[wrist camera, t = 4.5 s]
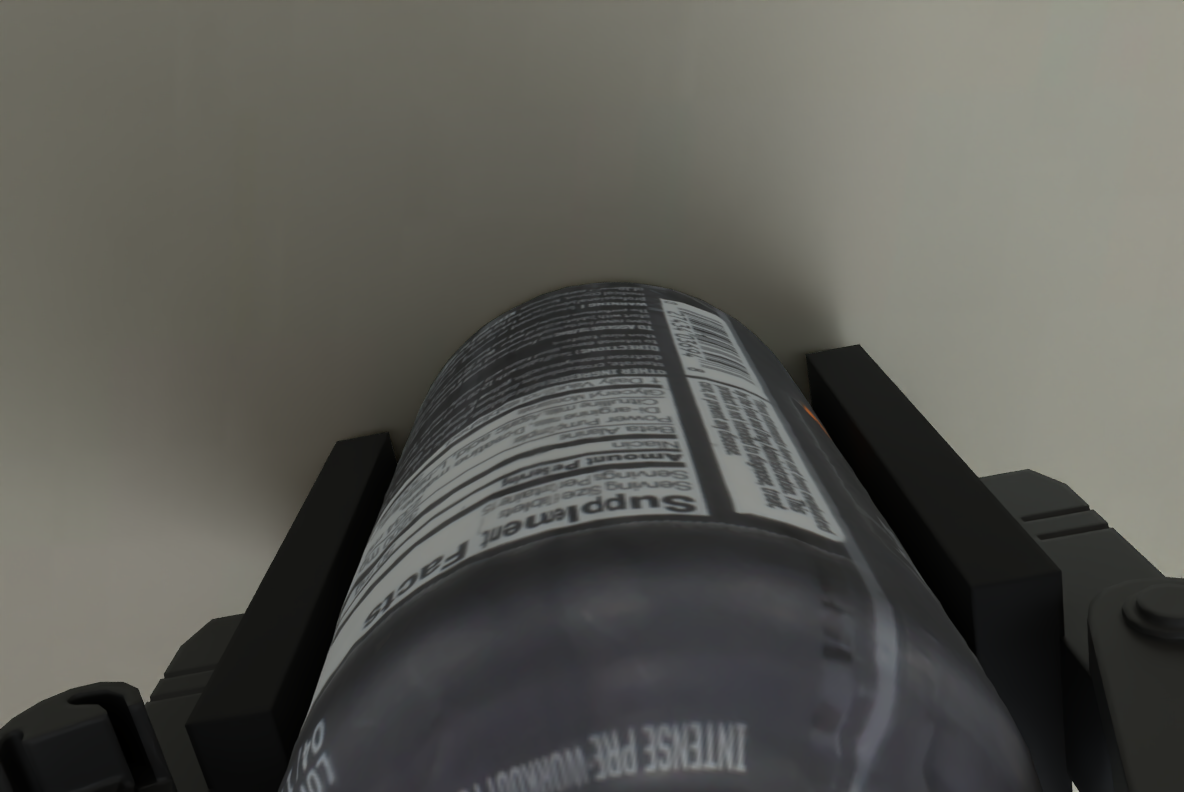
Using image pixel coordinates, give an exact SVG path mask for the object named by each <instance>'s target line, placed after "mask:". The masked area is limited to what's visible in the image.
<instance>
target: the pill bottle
mask: <svg viewBox="0 0 1184 792" xmlns="http://www.w3.org/2000/svg"><path fill="white" fill-rule="evenodd" d="M278 792H1043V789H1042V786H1041V783H1040V780H1039V777H1038V774H1037V771H1036V769H1035V766H1034V763H1033V760H1032V757H1031V754H1030V751H1029V749H1028V747H1027V745H1026V743H1025V741H1024V739H1023V737H1022V735H1021V734H1020V732H1019V730H1018V728H1017V726H1016V724H1015V722H1014V720H1013V718H1012V716H1011V714H1010V713H1009V711H1008V709H1007V707H1006V706H1005V704H1004V703H1003V701H1002V700H1001V698H1000V697H999V695H998V693H997V691H996V689H995V687H994V685H993V684H992V683H991V681H990V680H989V679H988V677H987V676H986V674H985V672H984V670H983V668H982V666H981V664H980V662H979V661H978V659H977V657H976V656H975V655H974V654H973V652H972V651H971V650H970V649H969V647H968V645H967V643H966V641H965V639H964V638H963V637H962V635H961V634H960V633H959V631H958V630H957V629H956V627H955V626H954V624H953V623H952V622H951V620H950V619H949V617H948V616H947V614H946V613H945V611H944V609H943V607H942V605H941V603H940V601H939V600H938V599H937V598H936V596H935V595H934V594H933V592H932V591H931V590H930V588H929V587H928V586H927V584H926V583H925V581H924V580H923V578H922V577H921V575H920V573H919V572H918V570H917V569H916V567H915V566H914V564H913V563H912V561H911V559H910V557H909V555H908V554H907V552H906V550H905V549H904V547H903V546H902V544H901V543H900V541H899V539H898V538H897V536H896V535H895V533H894V532H893V530H892V529H891V528H890V526H889V525H888V523H887V521H886V520H885V518H884V517H883V516H882V514H881V513H880V512H879V510H878V509H877V507H876V506H875V504H874V503H873V501H872V500H871V498H870V496H869V494H868V492H867V490H866V489H865V488H864V487H863V486H862V484H861V482H860V481H859V479H858V478H857V476H856V474H855V472H854V470H853V469H852V468H851V466H850V465H849V463H848V462H847V461H846V459H845V458H844V457H843V455H842V454H841V452H840V451H839V449H838V448H837V447H836V445H835V444H834V442H833V441H832V439H831V437H830V436H829V434H828V432H827V430H826V429H825V427H824V426H823V424H822V423H821V421H820V420H819V418H818V417H817V415H816V413H815V412H814V410H813V409H812V407H811V406H810V404H809V403H808V401H807V400H806V398H805V397H804V395H803V394H802V392H801V390H800V389H799V387H798V386H797V385H796V383H795V382H794V381H793V380H792V378H791V376H790V375H789V373H788V372H787V371H786V369H785V368H784V366H783V365H782V364H781V362H780V361H779V360H778V358H777V357H776V356H775V355H774V353H773V352H772V351H771V350H770V349H769V348H768V347H767V346H766V345H765V344H764V343H763V342H762V341H761V340H760V339H759V338H758V337H756V336H755V335H754V334H753V333H752V332H751V331H750V330H749V329H747V328H746V327H745V326H744V325H742V324H741V323H740V322H739V321H737V320H736V319H734V318H733V317H731V316H729V315H728V314H726V313H724V312H723V311H721V310H719V309H717V308H715V307H714V306H712V305H710V304H708V303H706V302H704V301H703V300H701V299H698V298H695V297H692V296H689V295H686V294H684V293H681V292H678V291H675V290H672V289H668V288H662V287H657V286H651V285H646V284H638V283H630V282H603V283H593V284H586V285H579V286H572V287H566V288H563V289H560V290H556V291H553V292H550V293H546V294H543V295H541V296H538V297H536V298H534V299H532V300H530V301H528V302H526V303H523V304H521V305H519V306H517V307H515V308H513V309H511V310H509V311H507V312H506V313H504V314H502V315H500V316H499V317H497V318H495V319H494V320H492V321H491V322H489V323H488V324H486V325H485V326H483V327H482V328H481V329H480V330H478V331H477V332H476V333H475V334H474V335H473V336H472V337H470V338H469V339H468V340H467V341H466V342H465V343H464V344H463V345H462V346H461V347H460V348H459V349H458V350H457V351H456V352H455V354H454V355H453V356H452V357H451V358H450V359H449V360H448V362H447V363H446V364H445V366H444V367H443V368H442V370H441V371H440V373H439V374H438V376H437V378H436V379H435V381H434V382H433V384H432V385H431V387H430V389H429V392H428V394H427V396H426V398H425V400H424V402H423V403H422V405H421V407H420V410H419V412H418V415H417V417H416V419H415V422H414V425H413V427H412V430H411V432H410V435H409V437H408V440H407V442H406V445H405V447H404V449H403V452H402V455H401V458H400V460H399V462H398V464H397V467H396V470H395V473H394V476H393V479H392V481H391V484H390V486H389V488H388V490H387V492H386V494H385V496H384V502H383V505H382V507H381V510H380V513H379V515H378V518H377V520H376V523H375V525H374V528H373V531H372V533H371V535H370V537H369V540H368V542H367V545H366V548H365V550H364V553H363V556H362V558H361V561H360V564H359V566H358V569H357V571H356V574H355V576H354V578H353V581H352V583H351V586H350V589H349V591H348V594H347V596H346V599H345V601H344V604H343V607H342V609H341V612H340V615H339V619H338V622H337V626H336V629H335V633H334V637H333V640H332V643H331V646H330V648H329V651H328V654H327V658H326V661H325V664H324V666H323V669H322V672H321V675H320V678H319V681H318V684H317V687H316V690H315V693H314V696H313V699H312V702H311V705H310V708H309V711H308V714H307V716H306V719H305V721H304V724H303V726H302V728H301V731H300V734H299V737H298V739H297V741H296V743H295V745H294V748H293V751H292V755H291V758H290V761H289V764H288V768H287V770H286V773H285V775H284V777H283V780H282V782H281V785H280V787H279V789H278Z"/></svg>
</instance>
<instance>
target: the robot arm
mask: <svg viewBox="0 0 1184 792" xmlns="http://www.w3.org/2000/svg"><path fill="white" fill-rule="evenodd" d="M806 361H807V369H808V377H809V384H810V392H811V400H812V408H813V410H814V412H815V413H816V415H817V417H818V418H819V420H820V421H821V423H822V424H823V426H824V427H825V429H826V430H827V432H828V434H829V436H830V437H831V439H832V441H833V442H834V444H835V445H836V447H837V448H838V449H839V451H840V452H841V454H842V455H843V457H844V458H845V459H846V461H847V462H848V463H849V465H850V466H851V468H852V469H853V470H854V472H855V474H856V476H857V478H858V479H859V481H860V482H861V484H862V486H863V487H864V488H865V489H866V490H867V492H868V494H869V496H870V498H871V500H872V501H873V503H874V504H875V506H876V507H877V509H878V510H879V512H880V513H881V514H882V516H883V517H884V518H885V520H886V521H887V523H888V525H889V526H890V528H891V529H892V530H893V532H894V533H895V535H896V536H897V538H898V539H899V541H900V543H901V544H902V546H903V547H904V549H905V550H906V552H907V554H908V555H909V557H910V559H911V561H912V563H913V564H914V566H915V567H916V569H917V570H918V572H919V573H920V575H921V577H922V578H923V580H924V581H925V583H926V584H927V586H928V587H929V588H930V590H931V591H932V592H933V594H934V595H935V596H936V598H937V599H938V600H939V601H940V603H941V605H942V607H943V609H944V611H945V613H946V614H947V616H948V617H949V619H950V620H951V622H952V623H953V624H954V626H955V627H956V629H957V630H958V631H959V633H960V634H961V635H962V637H963V638H964V639H965V641H966V643H967V645H968V647H969V649H970V650H971V651H972V652H973V654H974V655H975V656H976V657H977V659H978V661H979V662H980V664H981V666H982V668H983V670H984V672H985V674H986V676H987V677H988V679H989V680H990V681H991V683H992V684H993V685H994V687H995V689H996V691H997V693H998V695H999V697H1000V698H1001V700H1002V701H1003V703H1004V704H1005V706H1006V707H1007V709H1008V711H1009V713H1010V714H1011V716H1012V718H1013V720H1014V722H1015V724H1016V726H1017V728H1018V730H1019V732H1020V734H1021V735H1022V737H1023V739H1024V741H1025V743H1026V745H1027V747H1028V749H1029V751H1030V754H1031V757H1032V760H1033V763H1034V766H1035V769H1036V771H1037V774H1038V777H1039V780H1040V783H1041V786H1042V789H1043V792H1072V781H1073V783H1074V784H1075V786H1076V787H1077V789H1078V790H1079V792H1184V578H1170V577H1165V576H1164V575H1163V574H1162V573H1161V572H1160V571H1159V570H1157V569H1156V568H1155V567H1154V566H1153V565H1152V564H1151V563H1150V562H1149V561H1148V560H1147V559H1146V558H1145V557H1144V556H1143V555H1141V554H1140V553H1139V552H1138V551H1137V550H1136V549H1135V548H1134V547H1133V546H1132V545H1131V544H1130V543H1129V542H1128V541H1126V540H1125V539H1124V538H1123V537H1122V536H1121V535H1120V534H1119V533H1118V532H1117V531H1116V530H1115V529H1114V528H1109V526H1108V523H1107V522H1106V521H1105V520H1104V519H1103V518H1102V517H1101V516H1100V515H1099V514H1098V513H1096V512H1095V511H1094V510H1090V508H1089V505H1088V504H1087V503H1086V502H1085V501H1084V500H1083V499H1082V498H1080V497H1079V496H1078V495H1077V494H1076V493H1075V492H1074V491H1073V490H1072V489H1071V488H1070V487H1069V486H1068V485H1067V484H1065V483H1062V482H1060V481H1057V480H1055V479H1052V478H1050V477H1047V476H1045V475H1042V474H1040V473H1037V472H1035V471H1032V470H1030V469H1026V470H1020V471H1015V472H1009V473H1003V474H998V475H992V476H987V477H981V478H978V477H977V476H976V474H975V473H974V472H973V471H972V470H971V469H970V468H969V467H968V466H967V464H966V463H965V462H964V461H963V460H962V459H961V458H960V457H959V455H958V454H957V453H956V452H955V451H954V450H953V449H952V448H951V447H950V445H949V444H948V443H947V442H946V441H945V440H944V439H943V438H942V436H941V435H940V434H939V433H938V432H937V431H936V430H935V429H934V428H933V426H932V425H931V424H930V423H929V422H928V421H927V420H926V419H925V417H924V416H923V415H922V414H921V413H920V412H919V411H918V410H917V409H916V407H915V406H914V405H913V404H912V403H911V402H910V401H909V400H908V398H907V397H906V396H905V395H904V394H903V393H902V392H901V391H900V390H899V388H898V387H897V386H896V385H895V384H894V383H893V382H892V381H891V379H890V378H889V377H888V376H887V375H886V374H885V373H884V372H883V371H882V369H881V368H880V367H879V366H878V365H877V364H876V363H875V362H874V360H873V359H872V358H871V357H870V356H869V355H868V354H867V353H866V352H865V350H864V349H863V348H862V347H861V346H860V345H853V346H848V347H843V348H837V349H832V350H826V351H821V352H816V353H810V354H806ZM396 467H397V462H396V458H395V454H394V451H393V447H392V443H391V439H390V436H389V432H385V433H380V434H375V435H369V436H364V437H358V438H353V439H348V440H342V441H337V442H336V444H335V446H334V448H333V450H332V451H331V453H330V455H329V457H328V459H327V461H326V463H325V464H324V466H323V468H322V470H321V472H320V474H319V476H318V478H317V479H316V481H315V483H314V485H313V487H312V489H311V491H310V492H309V494H308V496H307V498H306V500H305V502H304V504H303V505H302V507H301V509H300V511H299V513H298V515H297V517H296V519H295V520H294V522H293V524H292V526H291V528H290V530H289V532H288V533H287V535H286V537H285V539H284V541H283V543H282V545H281V546H280V548H279V550H278V552H277V554H276V556H275V558H274V560H273V561H272V563H271V565H270V567H269V569H268V571H267V573H266V574H265V576H264V578H263V580H262V582H261V584H260V586H259V588H258V589H257V591H256V593H255V595H254V597H253V599H252V601H251V602H250V604H249V606H248V608H247V610H246V612H245V613H244V614H238V615H233V616H227V617H222V618H216V619H212V620H211V621H210V622H208V623H207V624H206V625H205V626H204V627H203V628H201V629H200V630H199V631H198V632H197V633H196V634H194V635H193V636H192V637H191V638H190V639H189V640H187V641H186V642H185V643H184V644H183V645H182V646H181V647H180V648H179V650H178V652H177V653H176V655H175V657H174V658H173V660H172V661H171V663H170V665H169V666H168V668H167V670H166V671H165V673H164V679H160V681H159V683H158V684H157V686H156V688H155V689H154V691H153V693H152V694H151V696H150V699H151V701H150V702H147V703H146V704H145V705H144V702H143V700H142V697H141V695H140V692H139V690H138V688H136V687H133V686H131V685H129V684H127V683H124V682H98V683H94V684H90V685H85V686H81V687H77V688H73V689H70V690H67V691H65V692H62V693H60V694H58V695H55V696H53V697H50V698H48V699H45V700H43V701H41V702H39V703H37V704H36V705H34V706H32V707H31V708H29V709H27V710H26V711H24V712H22V713H21V714H19V715H17V716H16V717H14V718H13V719H12V720H10V721H9V722H8V723H7V724H6V725H5V726H3V727H2V728H1V729H0V792H278V789H279V787H280V785H281V782H282V780H283V777H284V775H285V773H286V770H287V768H288V764H289V761H290V758H291V755H292V751H293V748H294V745H295V743H296V741H297V739H298V737H299V734H300V731H301V728H302V726H303V724H304V721H305V719H306V716H307V714H308V711H309V708H310V705H311V702H312V699H313V696H314V693H315V690H316V687H317V684H318V681H319V678H320V675H321V672H322V669H323V666H324V664H325V661H326V658H327V654H328V651H329V648H330V646H331V643H332V640H333V637H334V633H335V629H336V626H337V622H338V619H339V615H340V612H341V609H342V607H343V604H344V601H345V599H346V596H347V594H348V591H349V589H350V586H351V583H352V581H353V578H354V576H355V574H356V571H357V569H358V566H359V564H360V561H361V558H362V556H363V553H364V550H365V548H366V545H367V542H368V540H369V537H370V535H371V533H372V531H373V528H374V525H375V523H376V520H377V518H378V515H379V513H380V510H381V507H382V505H383V502H384V496H385V494H386V492H387V490H388V488H389V486H390V484H391V481H392V479H393V476H394V473H395V470H396Z"/></svg>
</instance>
